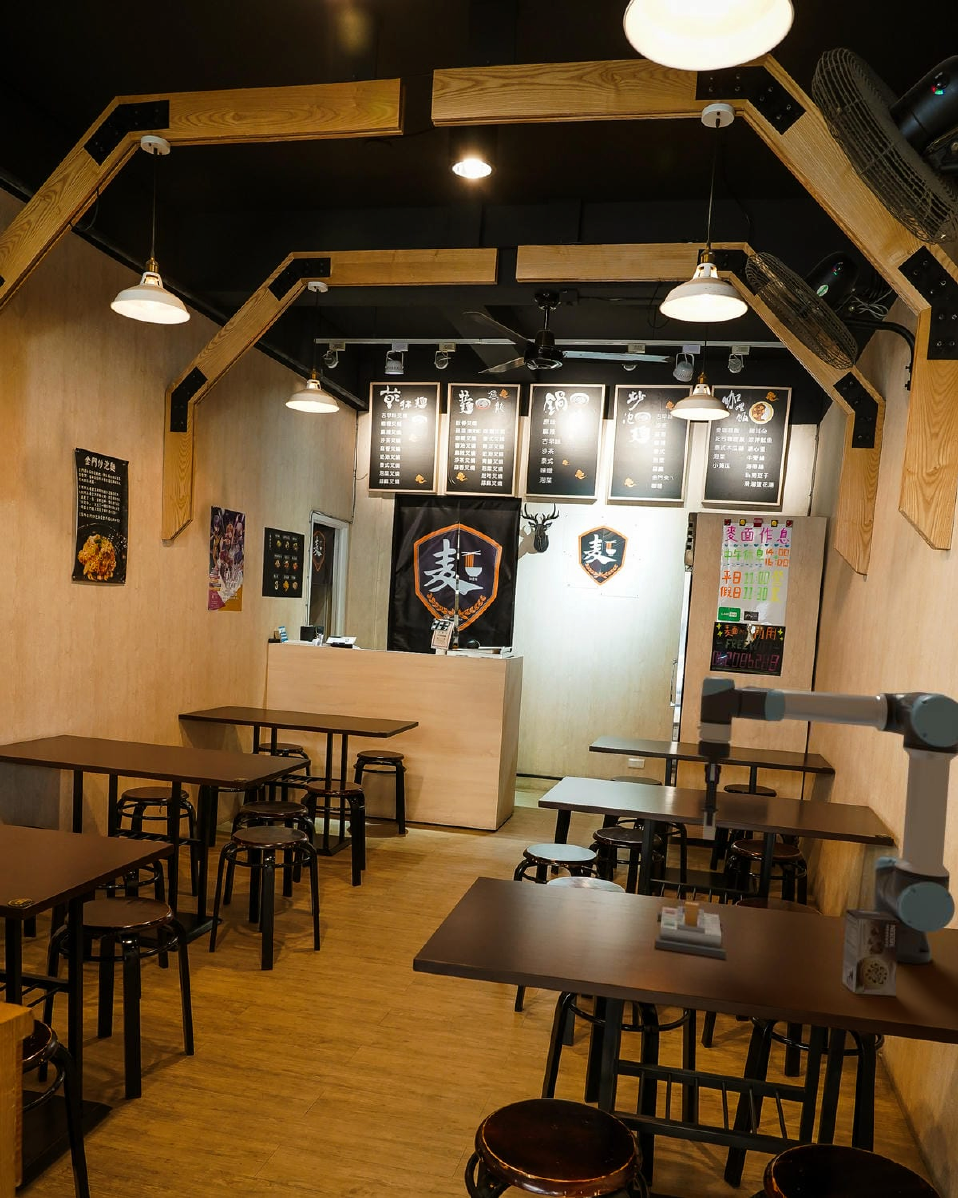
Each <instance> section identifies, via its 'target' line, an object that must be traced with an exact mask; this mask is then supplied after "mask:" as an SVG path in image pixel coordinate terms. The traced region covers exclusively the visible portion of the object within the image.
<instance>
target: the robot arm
mask: <svg viewBox="0 0 958 1198" xmlns="http://www.w3.org/2000/svg"><path fill="white" fill-rule="evenodd" d="M701 689H702V690H701V694H700V696H701V697H700V712H699V713H700V715H699V718H700V719H699V724H698V725H697V726H696V729H697V730H699V732H698V734H699V735H698V737H699V738H700V740H699V741H698V742H697V743H698V745H697V746H698V747H697V755H698V756H700V757H703V758H708V763H706V762H705V763H704V783H705V784H706V789H705V801H704V807H702V808H701V812H703V826H702V827H703V829H702V839H703V840H710V841H711V840H712V841H714V840H715V833H716V832H715V831H716V815H717V814H716V813H717V812H719V807H718V808H717V793H718V791H717V790H718V785H719V784H720V777H721V774H722V764H719V760H727V759H729V758H730V754H731V744H730V743H729V742H730V741H731V740H732V729H733V722H732V721H733V718H734V719H745V720H746V719H747V720H753V721H764V722H782V721H783V720H791V721H802V722H803V721H804V722H813V723H814V722H815V723H824V724H825V723H827V724H837V725H850V726H851V725H852V726H860V727H861V726H862V727H872V728H876V730H877V731H878V732H886V733H891V734H897V735H901V736H903V741H902V749H903V750H904V751H905V752H906V753H907V754H908V768H907V769H908V771H907V781H906V782H907V784H906V799H905V810H904V811H905V812H904V813H905V814H904V827H903V828H904V829H903V839H902V851H901V852H902V854H901V857H900V858H897V857H889V856H881V857H879V858H877V859H876V865H875V868H874V872H875V875H874V877H875V878H874V894H873V895H874V897H873V909H872V911H881V912H887V913H888V914H890V915H891V916H893V917H894V918H895V919H897V920H899V927H898V950H897V963H898V962H899V963H906V964H912V965H913V964H915V965H918V964H919V965H920V964H921V965H922V964H927V963H930V962H931V960H932V948H931V945H930V941H929V937H928V934H927V933H932V932H933V933H934V932H937V931H940V930H942V929H944V928H945V927H947V926H948V925H949V924H950V923H951V921H952V919H953V918H954V916H955V910H956V905H955V904H956V903H955V902H954V898H953V896H952V894H951V892H950V891H949V890H950V876H951V873H950V871H949V870H948V869H947V868H946V866H945V864H944V857H945V856H944V853H945V852H944V851H945V842H946V841H945V836H946V826H947V825H946V823H947V814H948V812H947V811H948V810H947V809H948V800H949V799H948V797H949V784H950V783H949V781H950V768H951V767H950V766H951V761H952V760H953V759H955V758H956V757H957V756H958V701H956V700H955V699H953V698H951V697H949V696H946V695H945V694H941V693H937V692H935V693H933V692H932V693H931V692H930V693H929V692H924V691H923V692H922V691H914V692H902V693H901V692H900V693H899V692H897V693H890V692H889V693H886V692H879V693H878V694H877V695H876V696H875V695H874V696H872V695H864V694H863V695H861V694H849V693H847V694H845V693H834V692H833V693H832V692H820V691H809V690H807V691H806V690H795V689H783V688H782V689H780V688H768V687H756V686H745V687H741V686H740V687H739V686H736V684H735V680H734V679H733V678H729V677H717V676H707V677H705V678H703V681H702V688H701Z"/></svg>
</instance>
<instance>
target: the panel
mask: <svg viewBox="0 0 958 1198" xmlns="http://www.w3.org/2000/svg"><path fill="white" fill-rule="evenodd" d="M685 907H686V906H681V905H677V908H674V907H672V908H671V907H666V906H662V909H661V913H662V917H661V921H660V931H659V939H660V940H666V941H672V942H679V943H685V944H692V945H698V946H705V947H711V948H718V949H722V948H721V946H722V929H720V922H721V921H720V916H719V914H714V913H707V912H705V911H704V909H701V908H698V922H697V926H695V925H688V924H684V921H685Z"/></svg>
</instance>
